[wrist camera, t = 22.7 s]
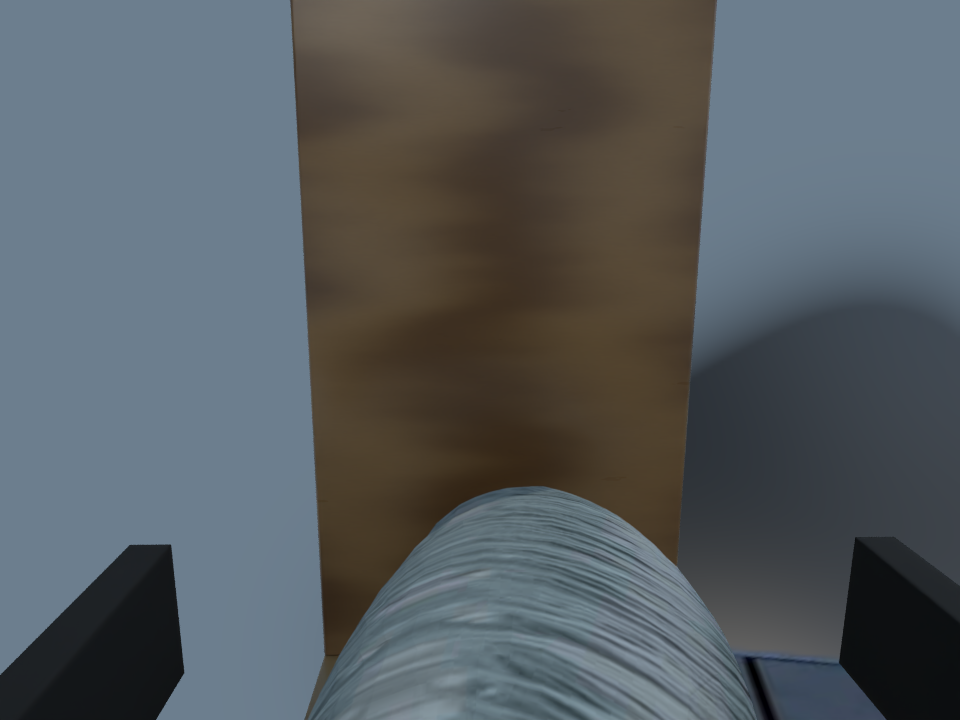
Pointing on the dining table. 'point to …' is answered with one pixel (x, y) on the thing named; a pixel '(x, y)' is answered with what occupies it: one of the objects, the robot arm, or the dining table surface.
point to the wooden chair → (495, 263)
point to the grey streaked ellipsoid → (535, 625)
